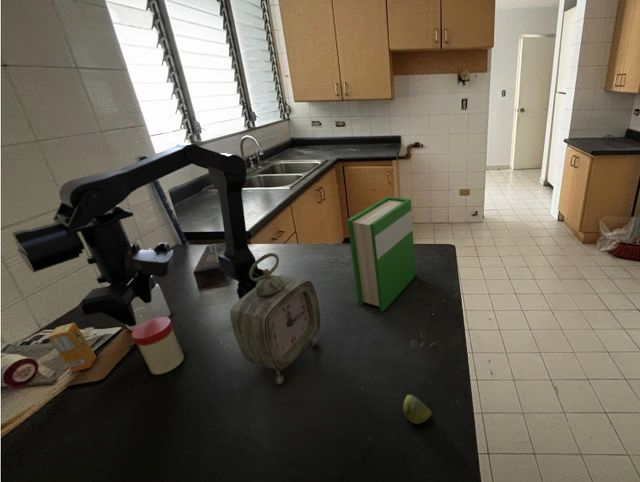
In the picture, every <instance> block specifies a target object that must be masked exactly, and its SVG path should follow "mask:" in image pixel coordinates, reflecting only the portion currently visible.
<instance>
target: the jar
mask: <svg viewBox="0 0 640 482" xmlns="http://www.w3.org/2000/svg"><path fill="white" fill-rule="evenodd" d="M132 291H133V290H132ZM134 294H135V292H134V291H133V294H132V295H134ZM151 297H152V301H151V302H150V303H144V302H143V301H142V300H141V299H140V298H139V297H138V296H137V295H136V297H135V298H134V299H133V301H132V302H131V304H132V308H133V311H134V315H135V318H136V325H135V326H131V327H130V326H127V325H125V326H126V328H127V329H128V330H130V331H132V332H133V330H134V329H135V328H136V327H138V326H139V325H140V324H142V323H144V322H146V321H148V320H151V319H154V318H158V317H167V318H170V316H171V311H170V307H169V306H168V303H167V301H166V298H165V297H164V293H163V291H162V289H161V287H160V284H158V283H157V282H156V280H155V277H154V275H151Z"/></svg>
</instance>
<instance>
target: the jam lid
mask: <svg viewBox="0 0 640 482" xmlns="http://www.w3.org/2000/svg"><path fill="white" fill-rule="evenodd" d="M172 329H173V330H174V326H173V322H172V320H171V318H170V317H168V318H167V317H158V318H154V319H151V320H148V321H146V322H144V323H142V324H140V325H139V326H138V327H136V328H135V329H134V330H133V331H132V332H131V338H132V341H133V343H134V344H135V345H137V346H138V345H148V344H152V343H155V342H157V341H159V340H161V339H163V338H164V337H166V336H167V335H168V334H169V333H170V332H171V331H172Z"/></svg>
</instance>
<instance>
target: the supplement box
mask: <svg viewBox="0 0 640 482" xmlns="http://www.w3.org/2000/svg"><path fill="white" fill-rule="evenodd" d="M47 338H48V340H49V341H50V343H51V344H52V345H53V347H54V349H55V350H56V351H57V353H58V354H59V355H60V357H61V358H62V360H63V361H64V363H65V364H66V365H67V367H68V368H69V370H70V371H71V373H76V372H81V371H83V370H86V369H90V368H91V367H92V365H93V364H94V363H95V360H96V358H97V356H96V354H95V351H94V350H93V348H92V347H91V345H90V343H89V342H88V341H87V339H86V337H85V336H84V334H83V333H82V331H81V330H80V328H79V327H78V325H77V324H76V322H71V323H68V324H63V325H60V326H57V327H55V328H54V329H53V331H52V332H51V333H50V334H49V336H48V337H47Z"/></svg>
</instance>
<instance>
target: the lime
mask: <svg viewBox="0 0 640 482" xmlns="http://www.w3.org/2000/svg"><path fill="white" fill-rule="evenodd" d="M402 409H403V413H404V415H405V417H406V419H407V421H409V422H411V423H413V424H414V425H415V424H416V425H420V424H422V423H424V422H426V421H428V420H429V419H430V418H431V416H432V413H433V412H432V410H431V409H430V408H429V407H428V406H427V405H425V404H424V403H423V402H422V401H421V400H420V399H419V398H418V397H416V396H415V395H413V394H407V395H406V396H405V398H404V401H403V406H402Z"/></svg>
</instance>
